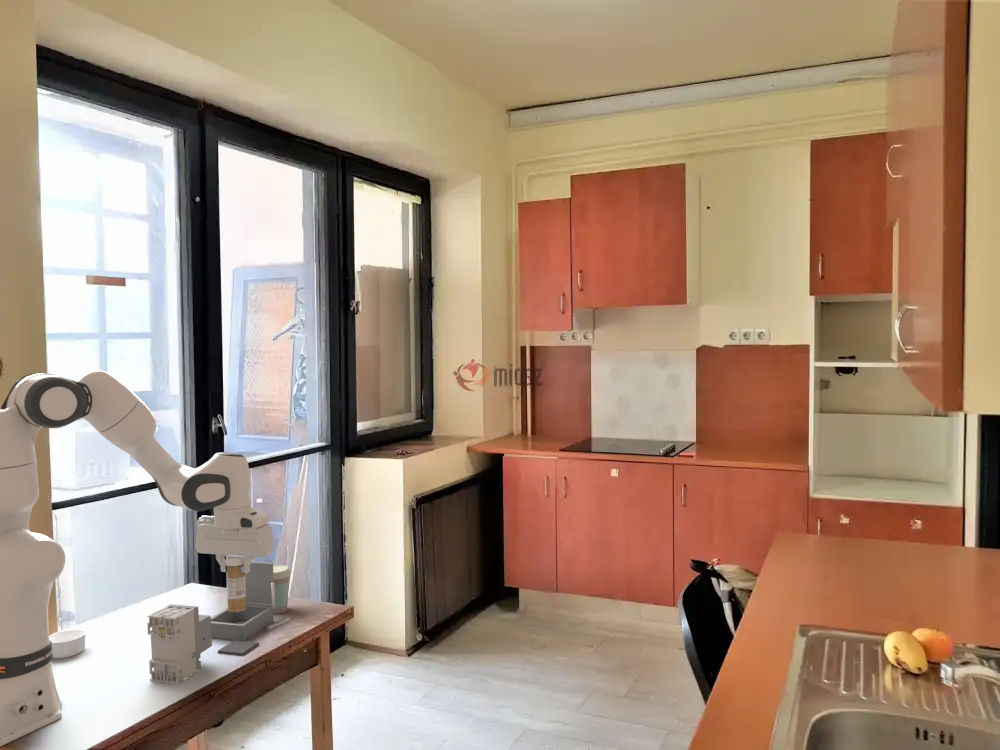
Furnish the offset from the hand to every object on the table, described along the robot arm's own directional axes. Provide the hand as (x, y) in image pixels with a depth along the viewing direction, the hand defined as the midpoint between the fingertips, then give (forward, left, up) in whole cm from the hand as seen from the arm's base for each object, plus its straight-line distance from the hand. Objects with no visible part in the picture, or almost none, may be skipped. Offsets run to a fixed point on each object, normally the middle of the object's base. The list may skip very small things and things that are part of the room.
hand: (235, 572), depth 198 cm
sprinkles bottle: (0, 0, -10) cm, 10 cm away
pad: (0, 0, -20) cm, 20 cm away
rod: (+16, -1, -20) cm, 26 cm away
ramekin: (-12, +42, -20) cm, 47 cm away
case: (+11, +8, -20) cm, 24 cm away
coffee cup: (+26, +6, -20) cm, 33 cm away
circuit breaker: (-14, +6, -20) cm, 25 cm away
